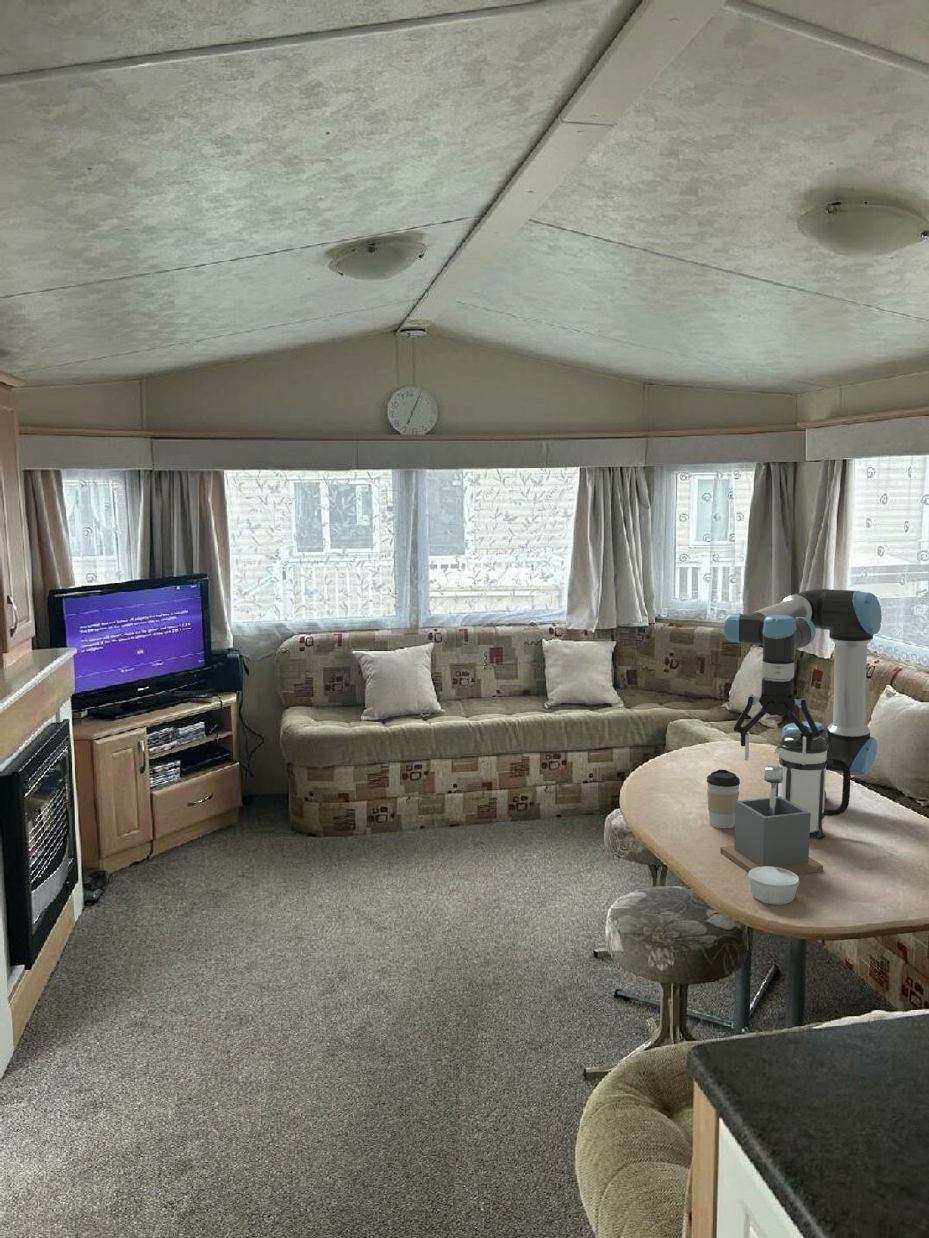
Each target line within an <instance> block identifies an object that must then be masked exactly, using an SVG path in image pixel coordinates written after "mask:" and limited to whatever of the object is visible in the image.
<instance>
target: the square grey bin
mask: <svg viewBox="0 0 929 1238" xmlns="http://www.w3.org/2000/svg"><path fill="white" fill-rule="evenodd" d="M769 810H770V796H769V797H763V798H761V797H760V798H753V799H744V800H738V801H736V810H735V826H734V843H733V845H727V846H720V851H719V853H720V854H722V855H723V856H724V857H726V858H728V860H730V859H731V860H730V861H731V862H733V863H734V864H736V865H737V866H738V867H740V868H741V869H743V870H744V871H746V872H747V873H749V871H750V870H751V869H753V868H756V867H763V866H770V867H778V868H783V869H786V870H789V871H791V872H793V873H794V874H796V875H797V876H799V875H805V874H813V873H820V872H821V873H822V872H824V865H823V864H821V863H820V862H819V861H817V860H816V859H814V858H812V857H810V838H811V837H810V834H811V833H810V816H811V813H810V812H808V811H806V810H804V809H803V808H801V807H799V806H797V805H795V804H793V803H792V802H790V801H788V800H786V799H784V798H782V797H781V796H778V797H776V806H775V815H774V816H769Z"/></svg>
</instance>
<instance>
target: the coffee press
mask: <svg viewBox="0 0 929 1238" xmlns="http://www.w3.org/2000/svg"><path fill="white" fill-rule="evenodd" d="M805 727H806V728H807V729H808V727H807V726H805ZM808 730H809V729H808ZM803 736H804V734H803V733H802V732H792V733H788V734H786V735H784V736H783V737H782V736H781V739H780V740H778V744H777V745H776V747H775V748H774V750H773V752H772V753H773V754H777V755H778V763H779V764H778V765H779V767H782V768H783V782H782V783H779V787H778V796H781V797H782V798H784V799H786V800H788V801H790V802H792V803H793V804H795V805H797V806H799V807H801V808H803V809H804V810H806V811H808V812H810V813H811V816H810V834H811V833H814V834H815V835H816V837H817V838H818V839H819V840H821V839H822V840H823V839H825V838H826V834H825V832H824V830H823V826H824V819H825V817H836V816H839V815H842V814H844V813H845V811H847V810H848V807H849V804H850V796H851V794H850V793H851V775H850V770H849V768H848V766H847V765H846V763H845V762H844V761H842V760H840V759H837V758H833V759H830V758H826V757H827V751H828V748H829V746H828V744H827V743H826V741H825V739H824V738H823V737H821V736H819V737H814V738H812V739H811V750H810V751H806V760H805V765H802V753H803ZM827 764H833V765H837V766H839V767H841V769H842V771H843V773H842V796H841V802H840V805H839V806H838V807H836V808H825V802H824V799H825V791H826V774H827V770H826V767H827Z"/></svg>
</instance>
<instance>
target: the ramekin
mask: <svg viewBox="0 0 929 1238" xmlns="http://www.w3.org/2000/svg"><path fill="white" fill-rule="evenodd" d="M747 873H748V872H747ZM747 875H748V880H749V886H750V892H751V894H752V896H753V898H755V899H756V900H758V901H759V902H761V903H764V904H767V905H768V904H769V905H776V906H777V905H787V904H789V903H791V902H792V901H794V900H795V897H796V893H797V890H798V886H799V884H800V878H799V875H796V874H794V873H793V872H791V871H789V870H786V869H783V868H778V867H770V866H763V867H756V868H753V869H751V870H750V871H749V873H748V874H747Z"/></svg>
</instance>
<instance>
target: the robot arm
mask: <svg viewBox="0 0 929 1238" xmlns="http://www.w3.org/2000/svg"><path fill="white" fill-rule="evenodd" d="M882 620H883V619H882V607H881V604H880V601H879V599H878V598H877V596H876V595H875V594H874V593H871V592H865V591H860V590H852V589H850V590H847V589H829V588H816V589H808V590H805V591H800V592H797V593H794V594H790V595H788V596H786V597H784V598H783V599H782V601H781V602H778V603H776V604H772V605H770V606H767V607H763V608H761V609H758V610H756V611H753V612H749V613H746V614H745V613H744V614H743V613H729V614H728V615H727V616H726V618H725V619H724V623H723V636H724V638H725V639H726V640H727V641H728V642H734V643H737V644H740V643H741V644H749V645H750V644H752V645H759V646H760V645H761V646H762V659H761V660H762V665H761V666H762V668H761V676H762V677H763V678H761V690H760V691H761V692H760V693H761V694H760V696H755V695H753V694H749V695H748V699H747V703H746V705H745V706H744V709H743V710H742V711H741V714H740V715H739V717H738V719H737V721H736V722H735V724H734V726H733V731H734V732H738V733H739V734H740V746H741V747H744V761H749V758H750V757H749V756H750V755H749V754H750V732H749V731H750V730H751V729H752V728H753V727H754V726H755V725H756V723H758V722H759V721H760V720H761V719H762V718H763V717H764V716H765V715H766V714H768V715H769V716H778V717H783V716H787V717H788V719H790V720H791V721H792V723H791V722H790V723H788V724H786V725H785V726H783V727H782V730H781V731H782V732H781V738H782V737H783V736H784V735H786V734H788V733H792V732H802V733H803V734H804V736H803V753H802V765H805V760H806V751H810V750H811V739H812V738H814V737H819V736H821V737H823V738H824V739H825V741H826V743H827V744H828V746H829V748H828V751H827V757H826V758H830V759H833V758H837V759H840V760H842V761H844V762H845V763H846V765H847V766H848V768H849V770H850V776H856V777H858V776H859V777H864V776H866V775H868V773H870V771H871V769H872V768H873V766H874V764H875V763H874V762H875V760H876V757H877V753H878V741H877V739H876V738H875V737H873V736H871V729H870V727H868V725H866V697H867V696H866V695H867V693H866V691H867V662H868V660H867V658H868V644H869V643H870V642H871V641H873V639H874V635H876V634H878V633H879V631H880V630H881V624H882ZM816 629H818V630H819V629H820V630H826V631H829V633H828V634H829V639H830V640H831V641H832V642H833V643H834V664H833V665H834V666H833V667H834V669H833V671H834V672H833V711H832V712H833V715H832V716H833V717H832V723H830V724H829V725H828V726H827V729H824V728H825V727H824V725H823V724H822V723H820V722H817V721H815V720H814V718H813V716H812V714H811V712H810V710H809V708H808V706H807V698H806V697H801V698H796V699H795V697H794V681H795V680H794V679H793V678H794V677H795V656H796V655H795V654H796V652H795V651H796V650H798V649H801V648H804V647H807V646H808V645H809V644H811V643H812V642H813V641H814V639H815V637H816V635H817V630H816ZM757 703H759V704H760V706H761V708H760V709H759V711H758V712H756V714H755V715H754V716H753V717H752V718H751V719H750V720H749V721H748V722H746V724H744V726H742V724H743V723H744V721H745V719H746V718H747V716H748V714H749V713H750V711H751V710H752V708H753V706H755V705H757ZM795 705H797V707H798V708H800V709H801V712H802V714H803V717H804V718H805V719H806V721H802V720H801V719H800V718H799V716H797V715H796V713H795V712H794V711H793V707H794V706H795ZM805 726H807V727H808V729H809V730H808V729H807V728H806V727H805ZM826 771H828V772H836V773H840V774H843V771H842V769H841V767H839V766H837V765H833V764H827V767H826ZM778 787H779V783H776V797H778ZM826 801H827V792H826V790H825V799H824V803H826Z"/></svg>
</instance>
